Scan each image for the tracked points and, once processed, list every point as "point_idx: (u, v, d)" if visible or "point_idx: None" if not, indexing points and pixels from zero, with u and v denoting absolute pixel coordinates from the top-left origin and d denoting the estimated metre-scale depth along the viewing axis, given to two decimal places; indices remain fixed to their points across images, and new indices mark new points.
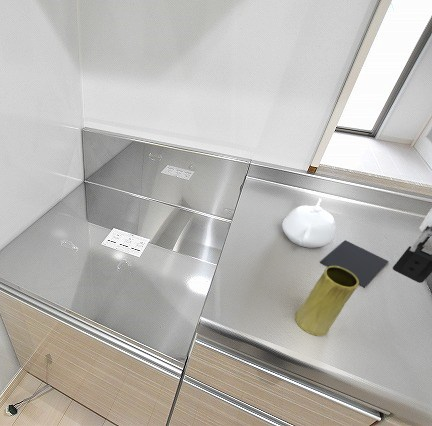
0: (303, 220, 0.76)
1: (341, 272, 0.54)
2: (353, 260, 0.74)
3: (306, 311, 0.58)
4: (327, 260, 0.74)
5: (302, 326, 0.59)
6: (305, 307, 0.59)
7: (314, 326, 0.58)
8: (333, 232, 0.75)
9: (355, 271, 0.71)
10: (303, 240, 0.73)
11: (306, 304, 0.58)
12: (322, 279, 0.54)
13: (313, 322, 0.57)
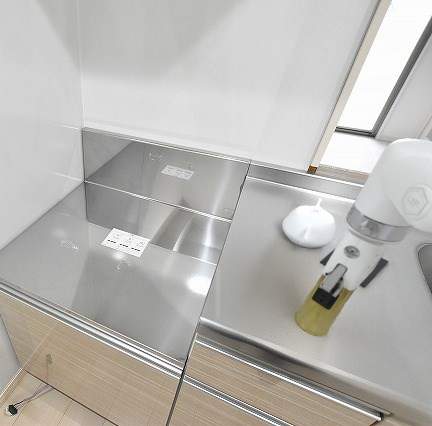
0: (303, 220, 0.76)
1: None
2: None
3: (306, 311, 0.58)
4: (327, 260, 0.74)
5: (302, 326, 0.59)
6: (305, 307, 0.59)
7: (314, 326, 0.58)
8: (333, 232, 0.75)
9: None
10: (303, 240, 0.73)
11: (306, 304, 0.58)
12: (322, 279, 0.54)
13: (313, 322, 0.57)
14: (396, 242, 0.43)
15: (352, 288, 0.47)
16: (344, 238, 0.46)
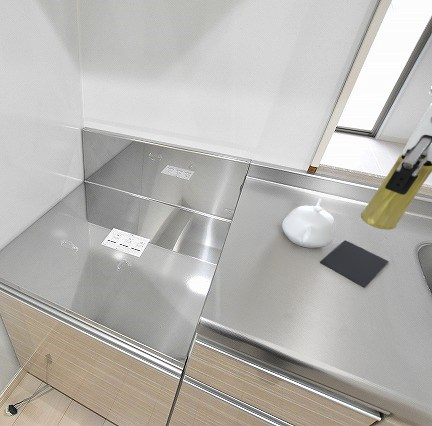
0: (303, 220, 0.76)
1: None
2: (353, 260, 0.74)
3: (375, 205, 0.59)
4: (327, 260, 0.74)
5: (370, 222, 0.61)
6: (374, 203, 0.60)
7: (384, 219, 0.59)
8: (333, 232, 0.75)
9: (355, 271, 0.71)
10: (303, 240, 0.73)
11: (375, 198, 0.60)
12: (396, 166, 0.55)
13: (383, 214, 0.59)
14: None
15: None
16: (431, 107, 0.47)
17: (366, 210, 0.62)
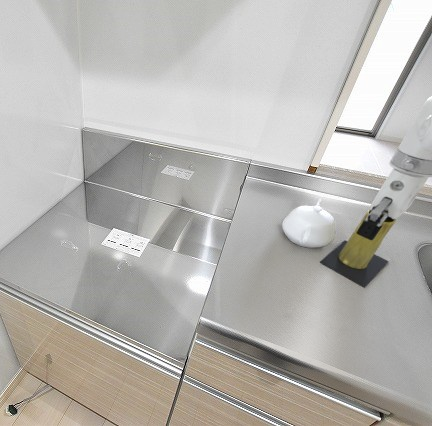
0: (303, 220, 0.76)
1: None
2: None
3: (349, 249, 0.72)
4: (327, 260, 0.74)
5: (345, 262, 0.73)
6: (348, 246, 0.72)
7: (356, 260, 0.71)
8: (333, 232, 0.75)
9: (355, 271, 0.71)
10: (303, 240, 0.73)
11: (349, 243, 0.72)
12: None
13: (355, 257, 0.71)
14: None
15: (396, 216, 0.60)
16: (390, 176, 0.59)
17: (342, 251, 0.74)
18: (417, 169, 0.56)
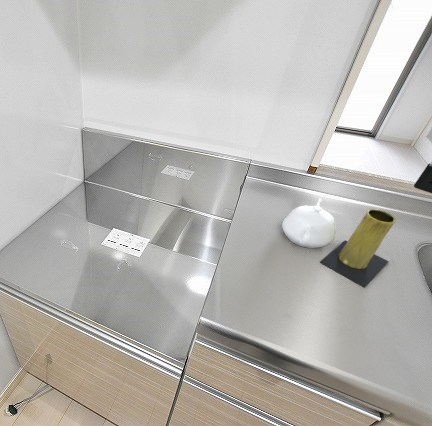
0: (303, 220, 0.76)
1: (380, 214, 0.68)
2: None
3: (349, 249, 0.72)
4: (327, 260, 0.74)
5: (345, 262, 0.73)
6: (348, 246, 0.72)
7: (356, 260, 0.71)
8: (333, 232, 0.75)
9: (355, 271, 0.71)
10: (303, 240, 0.73)
11: (349, 243, 0.72)
12: (365, 219, 0.67)
13: (355, 257, 0.71)
14: None
15: None
16: None
17: (342, 251, 0.74)
18: None
